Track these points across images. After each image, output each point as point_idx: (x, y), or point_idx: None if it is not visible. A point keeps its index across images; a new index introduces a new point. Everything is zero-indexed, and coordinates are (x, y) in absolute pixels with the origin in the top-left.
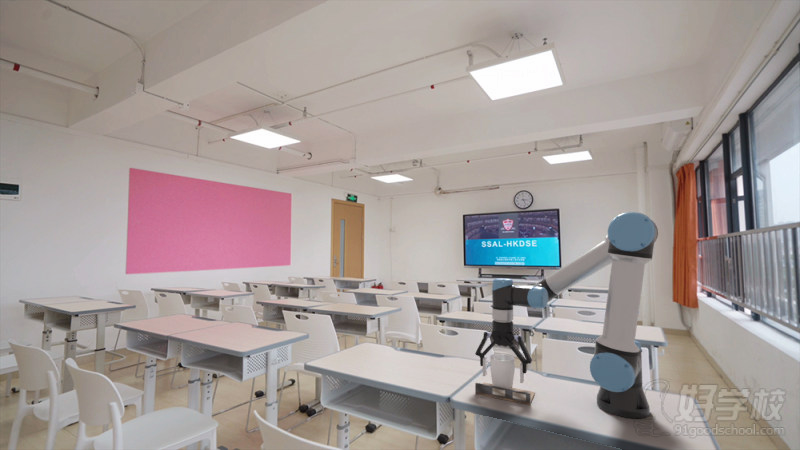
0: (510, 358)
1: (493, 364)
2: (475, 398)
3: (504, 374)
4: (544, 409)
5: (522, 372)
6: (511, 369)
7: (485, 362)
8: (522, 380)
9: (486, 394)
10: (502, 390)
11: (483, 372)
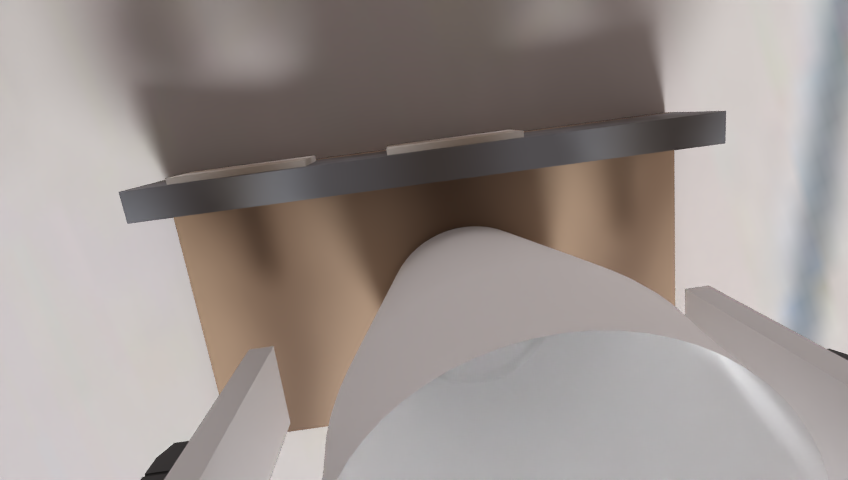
0: None
1: (651, 299)
2: (629, 2)
3: (429, 271)
4: (36, 164)
5: (204, 429)
6: (344, 379)
7: (809, 404)
8: (239, 366)
9: (564, 126)
10: (414, 146)
11: (729, 303)
